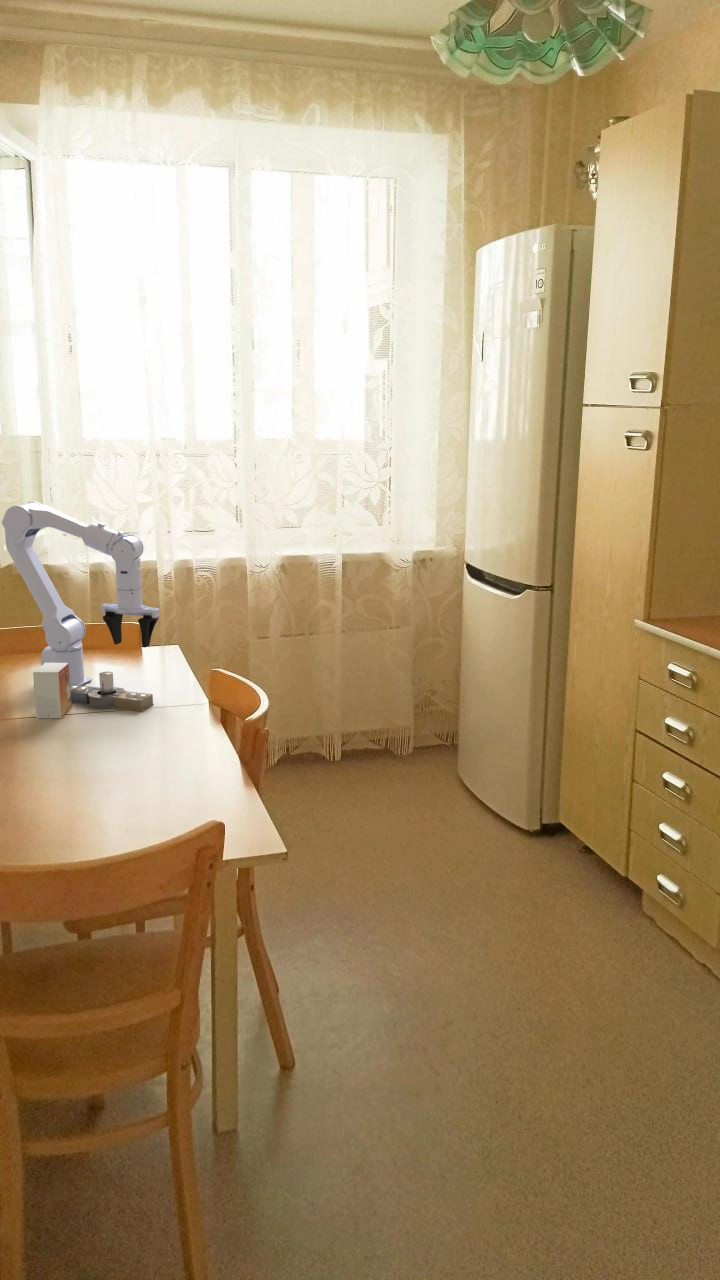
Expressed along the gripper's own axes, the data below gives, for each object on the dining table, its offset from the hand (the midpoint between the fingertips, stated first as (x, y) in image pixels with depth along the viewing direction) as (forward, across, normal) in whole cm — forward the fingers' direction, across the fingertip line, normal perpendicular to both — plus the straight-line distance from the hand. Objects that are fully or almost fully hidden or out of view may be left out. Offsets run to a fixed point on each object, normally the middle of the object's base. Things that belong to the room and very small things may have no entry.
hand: (131, 644), depth 240 cm
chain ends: (+10, +1, -13) cm, 17 cm away
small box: (+11, -6, -23) cm, 26 cm away
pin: (+10, +1, -13) cm, 17 cm away
